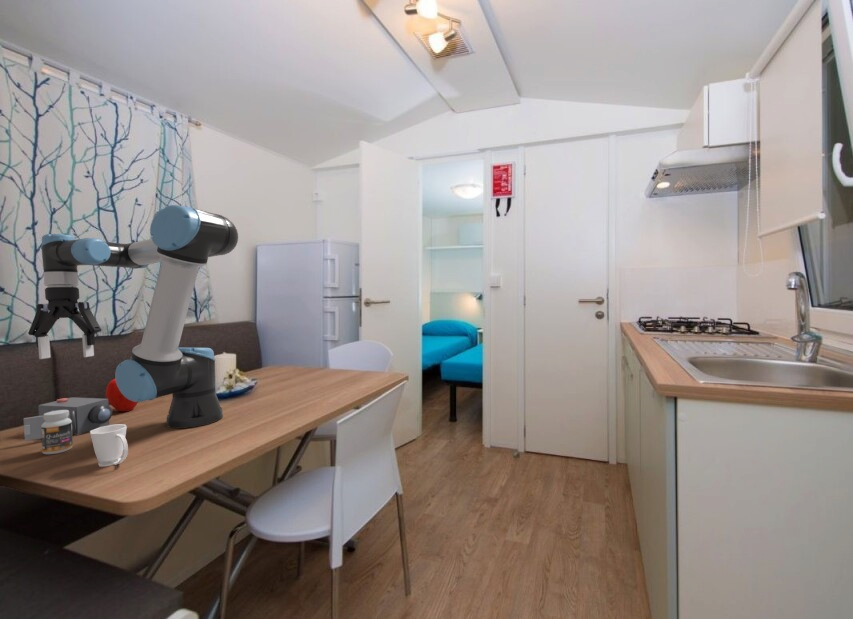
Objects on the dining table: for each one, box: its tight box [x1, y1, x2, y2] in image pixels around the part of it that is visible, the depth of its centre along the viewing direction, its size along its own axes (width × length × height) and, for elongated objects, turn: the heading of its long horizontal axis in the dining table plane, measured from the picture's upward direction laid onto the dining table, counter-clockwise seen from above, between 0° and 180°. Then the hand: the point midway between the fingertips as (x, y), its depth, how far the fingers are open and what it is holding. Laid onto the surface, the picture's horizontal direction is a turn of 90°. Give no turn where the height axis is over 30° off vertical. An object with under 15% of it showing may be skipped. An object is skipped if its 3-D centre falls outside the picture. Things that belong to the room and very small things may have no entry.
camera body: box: [38, 396, 113, 436], centre depth 117 cm, size 17×9×9 cm, turn 78°
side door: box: [23, 410, 76, 442], centre depth 108 cm, size 10×2×6 cm, turn 128°
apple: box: [105, 378, 139, 412], centre depth 135 cm, size 10×10×12 cm
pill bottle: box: [41, 410, 74, 455], centre depth 100 cm, size 6×6×10 cm
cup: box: [89, 423, 129, 467], centre depth 91 cm, size 7×10×8 cm
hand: (66, 357), depth 118 cm, fingers open, 13 cm apart
